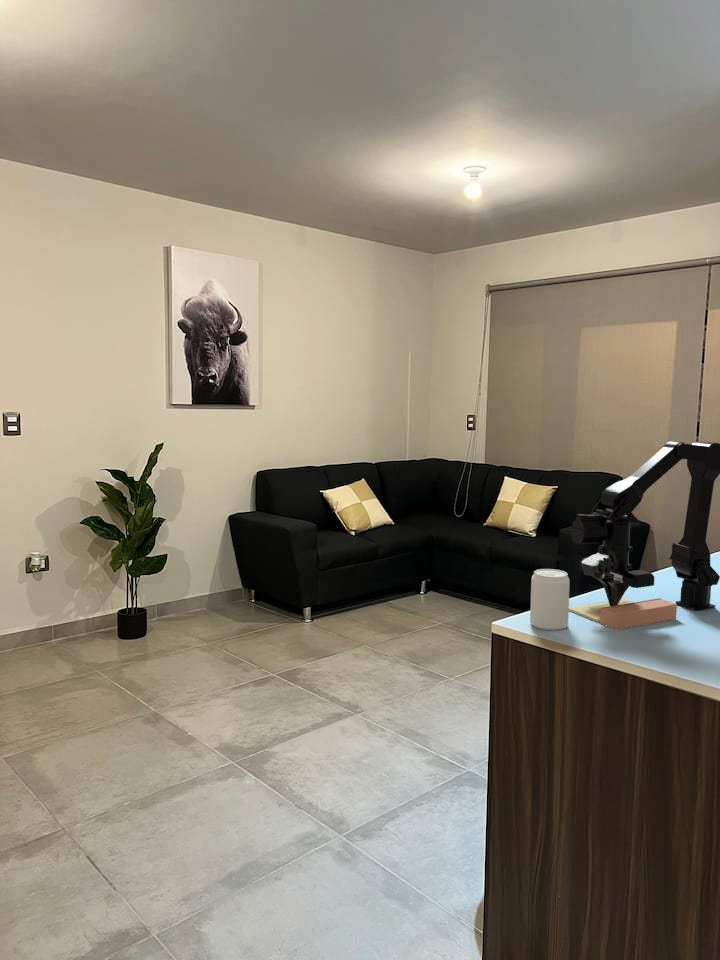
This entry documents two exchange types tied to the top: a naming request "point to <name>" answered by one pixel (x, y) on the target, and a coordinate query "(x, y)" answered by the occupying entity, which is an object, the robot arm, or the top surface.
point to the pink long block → (638, 613)
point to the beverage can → (549, 599)
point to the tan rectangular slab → (594, 609)
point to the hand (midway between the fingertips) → (613, 607)
